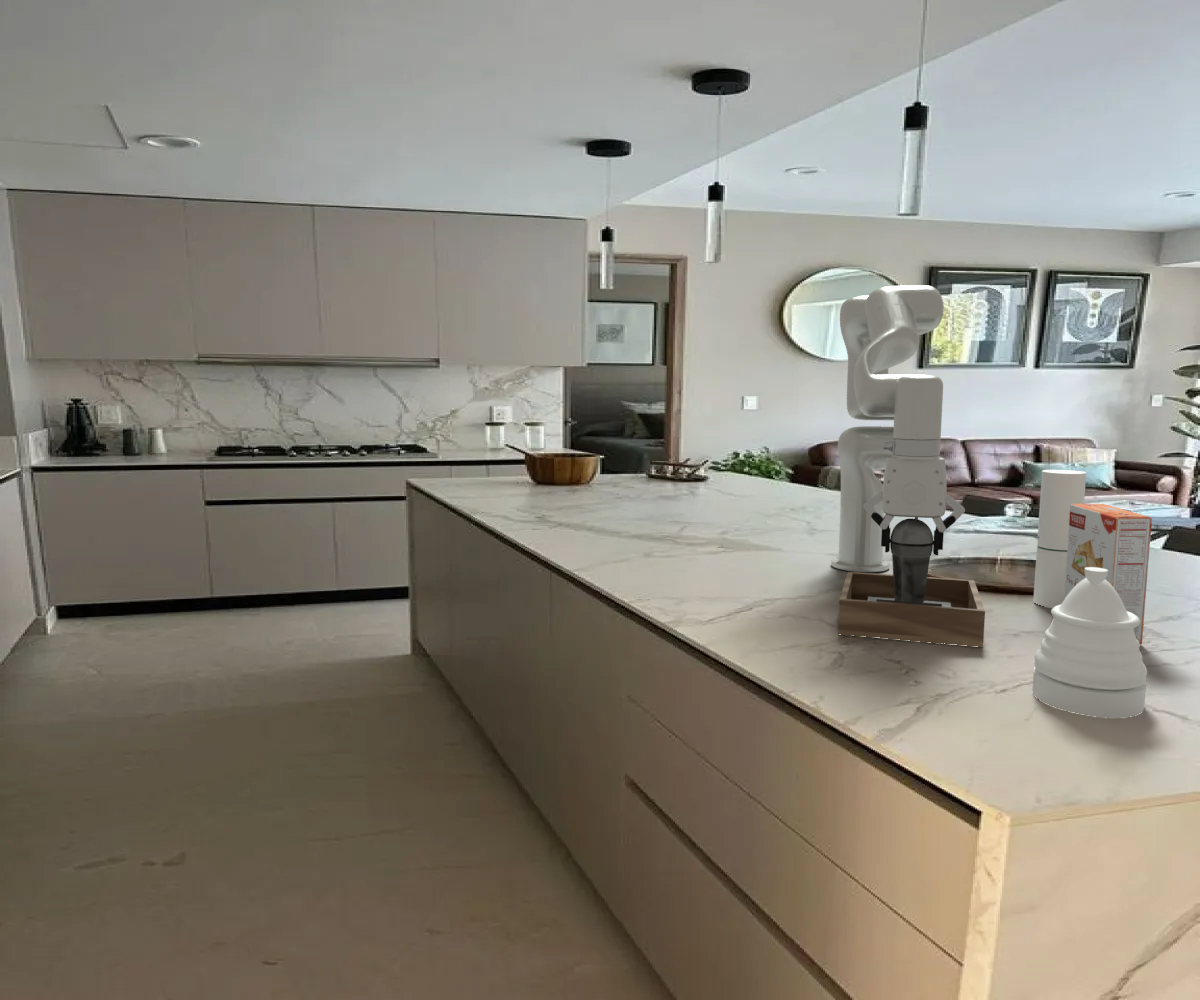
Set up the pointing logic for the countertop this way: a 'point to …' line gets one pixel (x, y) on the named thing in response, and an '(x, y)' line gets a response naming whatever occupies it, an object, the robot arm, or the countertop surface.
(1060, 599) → the cylindrical container
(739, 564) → the countertop surface
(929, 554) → the beverage cup
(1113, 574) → the cracker box
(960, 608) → the walled box
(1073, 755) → the countertop surface
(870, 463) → the robot arm
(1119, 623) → the honey pot
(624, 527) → the countertop surface
